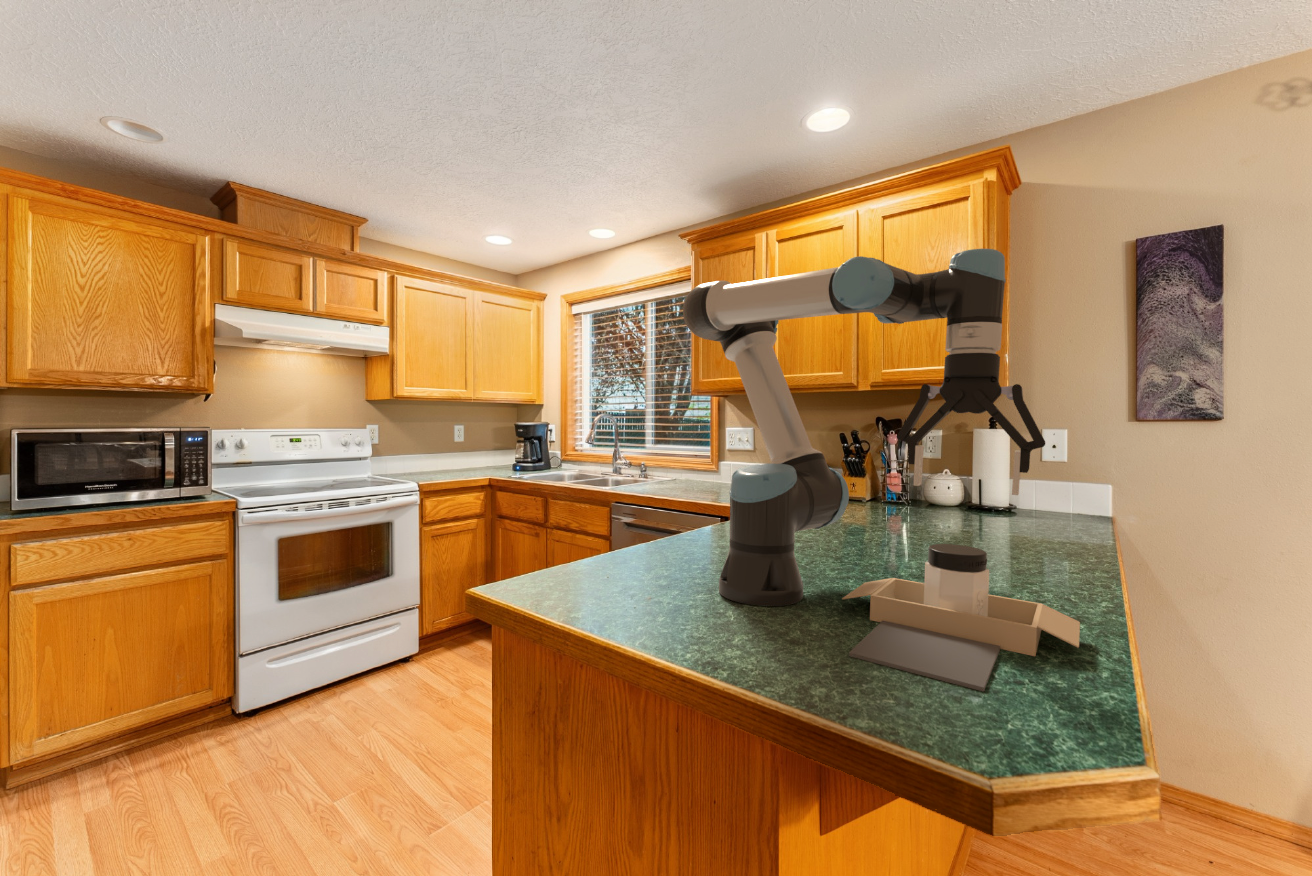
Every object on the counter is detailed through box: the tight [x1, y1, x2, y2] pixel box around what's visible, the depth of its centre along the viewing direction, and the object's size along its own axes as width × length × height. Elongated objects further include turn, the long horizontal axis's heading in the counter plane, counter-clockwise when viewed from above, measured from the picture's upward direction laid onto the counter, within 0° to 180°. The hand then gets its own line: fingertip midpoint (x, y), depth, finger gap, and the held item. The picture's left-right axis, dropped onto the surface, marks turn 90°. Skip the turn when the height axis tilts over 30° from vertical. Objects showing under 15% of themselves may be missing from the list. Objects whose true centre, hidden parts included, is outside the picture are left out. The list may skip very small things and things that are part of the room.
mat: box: [848, 621, 1001, 692], centre depth 79 cm, size 16×16×1 cm
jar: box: [923, 543, 990, 617], centre depth 90 cm, size 9×8×12 cm
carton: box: [842, 577, 1081, 657], centre depth 90 cm, size 32×13×4 cm, turn 53°
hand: (964, 489), depth 90 cm, fingers open, 13 cm apart
